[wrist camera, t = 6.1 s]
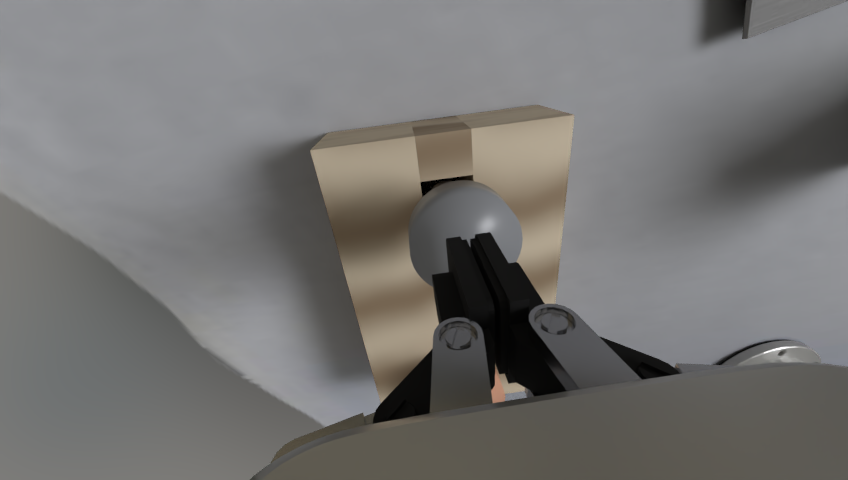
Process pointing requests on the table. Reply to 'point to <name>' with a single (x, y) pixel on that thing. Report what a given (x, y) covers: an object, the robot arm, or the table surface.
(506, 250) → the grey button
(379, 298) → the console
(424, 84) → the table surface
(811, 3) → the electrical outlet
